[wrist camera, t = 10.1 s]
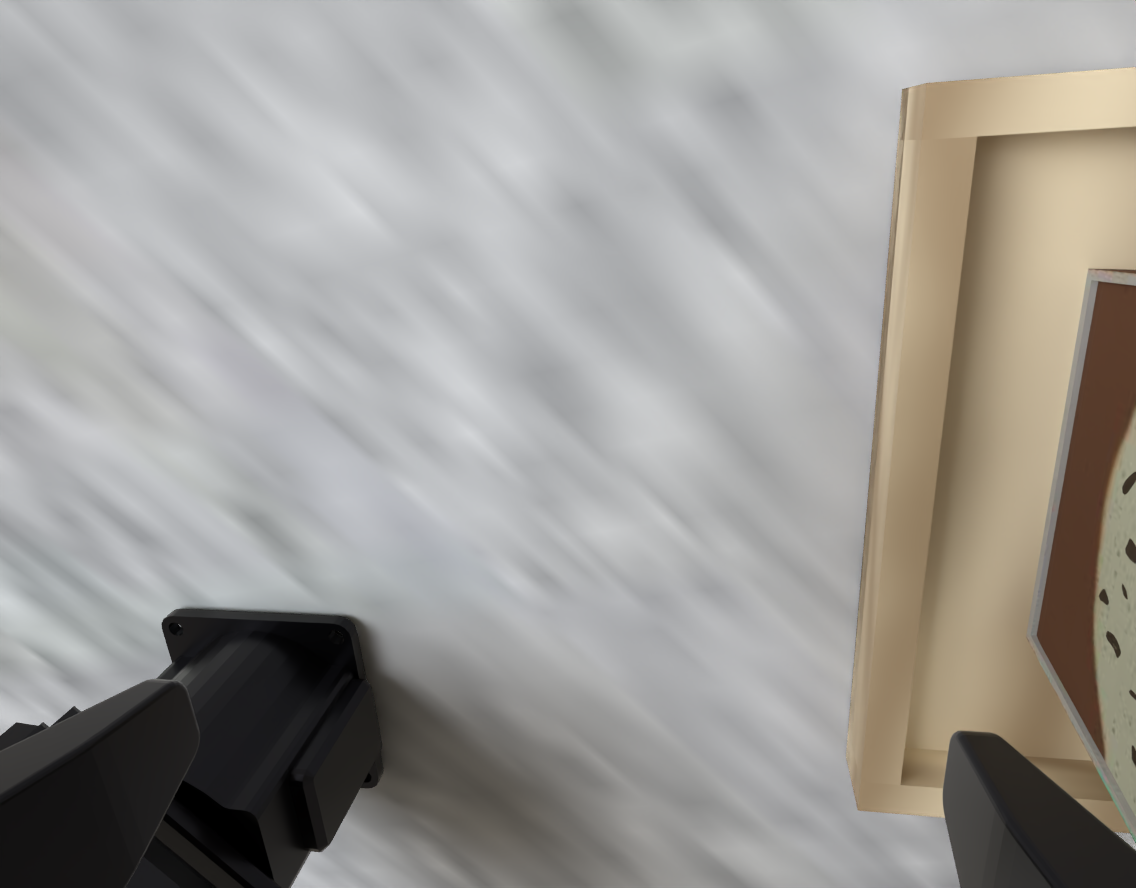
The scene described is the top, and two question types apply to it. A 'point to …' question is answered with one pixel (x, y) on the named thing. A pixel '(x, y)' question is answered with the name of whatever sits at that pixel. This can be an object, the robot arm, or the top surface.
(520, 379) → the top surface
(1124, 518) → the food container
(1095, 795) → the wooden tray
